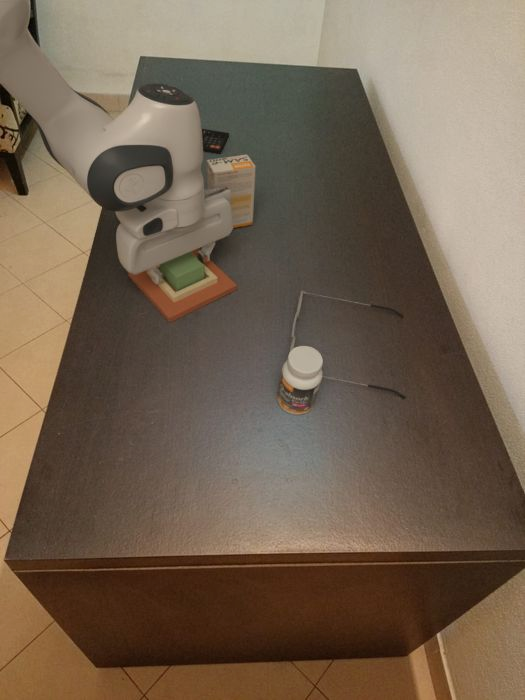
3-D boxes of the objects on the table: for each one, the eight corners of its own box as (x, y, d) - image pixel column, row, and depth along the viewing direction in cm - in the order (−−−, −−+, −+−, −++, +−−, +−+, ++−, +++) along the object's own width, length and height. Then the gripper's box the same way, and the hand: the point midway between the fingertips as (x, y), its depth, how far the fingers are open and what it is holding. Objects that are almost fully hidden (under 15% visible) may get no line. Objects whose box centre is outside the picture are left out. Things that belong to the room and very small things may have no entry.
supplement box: (245, 212, 99) (247, 153, 89) (253, 225, 97) (256, 166, 86) (207, 218, 97) (206, 158, 87) (214, 232, 94) (214, 171, 84)
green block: (177, 293, 81) (176, 277, 78) (160, 275, 83) (158, 259, 81) (204, 280, 83) (204, 265, 80) (187, 263, 86) (186, 247, 83)
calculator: (220, 154, 114) (220, 142, 112) (174, 146, 115) (173, 134, 112) (229, 136, 120) (229, 124, 118) (184, 129, 121) (184, 117, 118)
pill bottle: (271, 409, 69) (278, 368, 61) (283, 379, 72) (290, 337, 64) (309, 421, 68) (320, 381, 60) (318, 390, 71) (330, 349, 64)
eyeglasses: (297, 298, 84) (300, 282, 81) (401, 318, 83) (409, 302, 80) (282, 378, 72) (286, 362, 69) (403, 402, 72) (413, 387, 69)
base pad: (169, 322, 78) (168, 312, 76) (128, 276, 84) (126, 265, 83) (237, 289, 84) (237, 279, 82) (193, 248, 91) (193, 238, 89)
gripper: (219, 172, 77) (219, 240, 88) (104, 212, 68) (120, 282, 79) (242, 190, 74) (239, 258, 85) (125, 234, 65) (139, 304, 76)
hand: (181, 270), depth 82 cm, fingers open, 8 cm apart
